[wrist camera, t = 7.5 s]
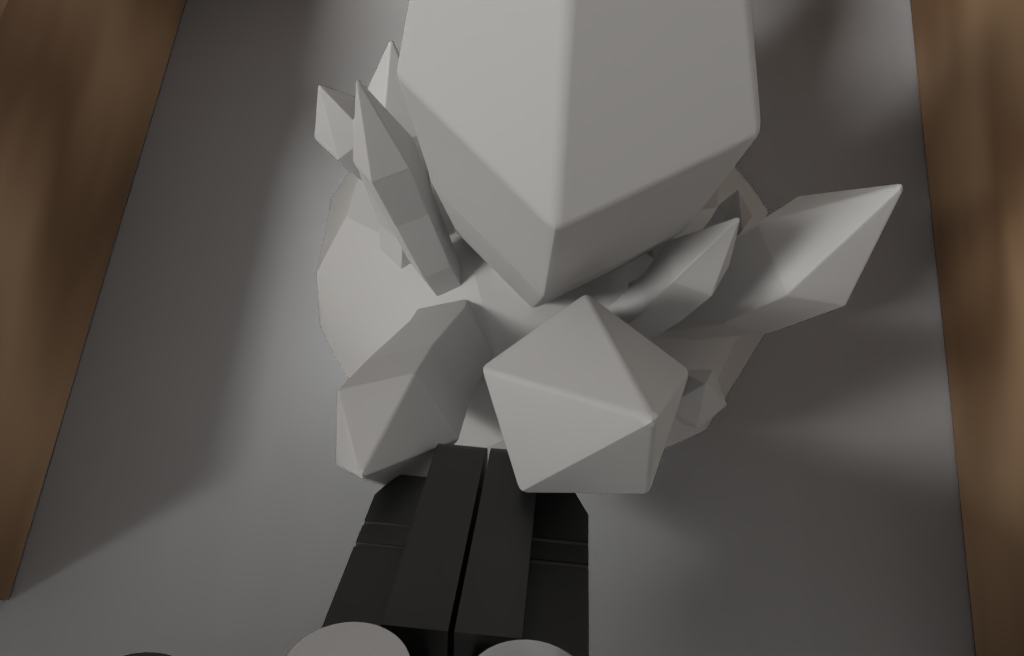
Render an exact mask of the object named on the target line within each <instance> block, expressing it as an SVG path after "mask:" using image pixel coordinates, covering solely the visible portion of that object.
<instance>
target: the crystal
mask: <svg viewBox="0 0 1024 656" xmlns="http://www.w3.org/2000/svg"><path fill="white" fill-rule="evenodd" d="M759 132H760V106H759V93H758V81H757V69H756V57H755V45H754V33H753V21H752V9H751V0H409V5H408V10H407V16H406V21H405V27H404V33H403V38H402V44H401V49H400V55H399V53H398V50H397V48H396V46H395V44H394V42H393V41H390V42H389V43H388V45H387V48H386V50H385V52H384V54H383V56H382V58H381V61H380V63H379V65H378V67H377V69H376V72H375V74H374V76H373V78H372V80H371V82H370V85H369V87H368V89H367V88H366V87H365V86H364V85H363V83H362V82H361V81H360V80H357V81H356V94H355V97H354V96H351V95H348V94H345V93H342V92H339V91H336V90H333V89H330V88H327V87H324V86H321V85H319V86H318V94H317V108H316V122H315V135H314V138H315V140H316V141H318V142H319V143H320V144H321V145H322V146H323V147H324V148H325V149H326V150H327V151H328V152H329V153H330V154H331V155H332V156H334V157H335V158H336V159H337V160H338V161H339V162H340V163H341V164H342V165H343V166H345V167H346V168H347V169H348V170H349V171H350V172H349V173H348V175H347V176H346V178H345V179H344V180H343V182H342V183H341V185H340V186H339V187H338V189H337V190H336V192H335V193H334V194H333V197H332V200H331V205H330V210H329V215H328V219H327V224H326V229H325V234H324V238H323V243H322V248H321V253H320V257H319V262H318V267H317V272H316V275H317V288H318V301H319V314H320V327H321V329H322V331H323V333H324V335H325V336H326V338H327V340H328V342H329V344H330V346H331V348H332V350H333V352H334V354H335V356H336V358H337V360H338V362H339V364H340V366H341V368H342V370H343V372H344V374H345V376H346V378H347V381H346V383H345V384H344V385H343V386H342V387H341V388H340V389H339V390H338V392H337V438H336V463H337V465H338V466H339V467H341V468H343V469H345V470H346V471H348V472H350V473H352V474H353V475H355V476H357V477H359V478H361V479H364V480H367V481H370V482H373V483H377V484H380V485H383V486H385V485H386V484H388V483H389V482H390V481H391V480H393V479H394V478H396V477H398V476H399V475H411V476H421V477H426V476H427V474H428V471H429V468H430V465H431V461H432V458H433V455H434V452H435V449H436V446H437V444H438V443H440V444H451V445H462V446H473V447H484V448H487V450H488V459H489V454H490V450H491V448H497V449H507V451H508V454H509V457H510V461H511V464H512V467H513V470H514V474H515V477H516V480H517V483H518V486H519V488H520V489H521V490H522V491H524V492H539V493H647V492H649V491H650V489H651V487H652V484H653V481H654V478H655V475H656V472H657V469H658V466H659V463H660V460H661V457H662V454H663V451H664V449H665V448H667V447H670V446H672V445H674V444H676V443H678V442H681V441H683V440H685V439H687V438H689V437H692V436H694V435H696V434H698V433H700V432H703V431H705V430H706V429H707V427H708V426H709V424H710V422H711V421H712V419H713V417H714V416H715V414H717V413H718V412H719V411H721V410H722V409H723V408H724V407H726V405H727V403H726V401H725V398H726V396H727V395H728V393H729V391H730V390H731V388H732V386H733V385H734V383H735V382H736V380H737V378H738V377H739V375H740V373H741V372H742V370H743V369H744V367H745V365H746V364H747V362H748V360H749V359H750V357H751V356H752V354H753V352H754V351H755V349H756V347H757V346H758V344H759V342H760V341H761V339H762V338H763V336H764V334H765V333H768V332H775V331H777V330H780V329H783V328H786V327H788V326H791V325H794V324H797V323H799V322H802V321H805V320H807V319H810V318H813V317H816V316H818V315H821V314H824V313H826V312H829V311H832V310H835V309H837V308H840V307H843V306H845V305H846V304H847V302H848V300H849V298H850V296H851V294H852V292H853V290H854V288H855V286H856V284H857V282H858V280H859V278H860V276H861V274H862V272H863V270H864V268H865V266H866V264H867V262H868V260H869V258H870V256H871V254H872V252H873V250H874V248H875V246H876V244H877V242H878V240H879V238H880V236H881V234H882V232H883V230H884V228H885V226H886V224H887V222H888V220H889V218H890V215H891V213H892V211H893V209H894V207H895V205H896V203H897V201H898V199H899V197H900V195H901V193H902V191H903V186H902V185H901V184H893V185H885V186H876V187H868V188H860V189H852V190H844V191H836V192H827V193H819V194H811V195H803V196H798V197H796V198H795V199H793V200H792V201H790V202H789V203H787V204H786V205H784V206H783V207H781V208H780V209H778V210H776V211H775V212H773V213H772V214H770V215H769V216H768V211H767V209H766V208H765V206H764V205H763V203H762V202H761V200H760V199H759V197H758V196H757V194H756V193H755V191H754V190H753V189H752V187H751V186H750V185H749V183H748V182H747V181H746V179H745V178H744V177H743V176H742V174H741V173H740V172H739V170H738V169H737V168H736V166H735V165H736V164H737V162H738V161H739V160H740V158H741V157H742V156H743V154H744V153H745V152H746V151H747V149H748V148H749V147H750V145H751V144H752V143H753V142H754V140H755V139H756V138H757V136H758V134H759ZM487 464H488V463H487Z"/></svg>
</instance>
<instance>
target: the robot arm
mask: <svg viewBox="0 0 1024 656" xmlns="http://www.w3.org/2000/svg"><path fill="white" fill-rule="evenodd" d="M487 463H488V464H487ZM125 656H170V655H167V654H162V653H150V652H144V653H135V654H129V655H125ZM287 656H589V598H588V514H587V512H586V510H585V509H584V507H583V505H582V504H581V502H580V500H579V499H578V497H577V495H576V494H575V493H539V492H524V491H522V490H521V489H520V488H519V486H518V483H517V480H516V477H515V474H514V470H513V467H512V464H511V461H510V457H509V454H508V451H507V449H497V448H491V450H490V454H489V459H488V450H487V448H484V447H473V446H462V445H451V444H440V443H438V444H437V446H436V449H435V452H434V455H433V458H432V461H431V465H430V468H429V471H428V474H427V477H421V476H411V475H399V476H398V477H396V478H394V479H393V480H391V481H390V482H389V483H388V484H386V485H385V486H384V487H383V488H382V489H381V490H380V491H378V492H377V493H376V494H375V496H374V498H373V501H372V503H371V506H370V508H369V511H368V513H367V516H366V518H365V523H364V525H363V526H362V528H361V531H360V533H359V536H358V538H357V541H356V547H354V548H353V551H352V553H351V556H350V558H349V561H348V563H347V566H346V568H345V571H344V573H343V576H342V578H341V581H340V583H339V586H338V588H337V591H336V593H335V596H334V598H333V601H332V603H331V606H330V608H329V611H328V613H327V616H326V618H325V621H324V623H323V626H322V628H321V629H319V630H316V631H314V632H312V633H311V634H309V635H307V636H306V637H304V638H303V639H302V640H301V641H299V642H298V643H297V644H296V645H295V646H294V647H293V648H292V649H291V650H290V651H289V653H288V654H287Z"/></svg>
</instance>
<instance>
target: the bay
mask: <svg viewBox="0 0 1024 656" xmlns="http://www.w3.org/2000/svg"><path fill="white" fill-rule="evenodd" d="M185 2H186V0H0V600H9V597H10V594H11V591H12V587H13V584H14V580H15V577H16V574H17V570H18V567H19V563H20V560H21V557H22V553H23V550H24V547H25V543H26V540H27V536H28V533H29V530H30V526H31V523H32V520H33V516H34V513H35V509H36V506H37V503H38V499H39V496H40V492H41V489H42V486H43V482H44V479H45V476H46V472H47V469H48V465H49V462H50V459H51V455H52V452H53V449H54V445H55V442H56V438H57V435H58V432H59V428H60V425H61V421H62V418H63V415H64V411H65V408H66V405H67V401H68V398H69V394H70V391H71V388H72V384H73V381H74V378H75V374H76V371H77V367H78V364H79V361H80V357H81V354H82V350H83V347H84V344H85V340H86V337H87V334H88V330H89V327H90V323H91V320H92V317H93V313H94V310H95V307H96V303H97V300H98V296H99V293H100V290H101V286H102V283H103V279H104V276H105V273H106V269H107V266H108V263H109V259H110V256H111V252H112V249H113V246H114V242H115V239H116V235H117V232H118V229H119V225H120V222H121V219H122V215H123V212H124V208H125V205H126V202H127V198H128V195H129V192H130V188H131V185H132V181H133V178H134V175H135V171H136V168H137V164H138V161H139V158H140V154H141V151H142V148H143V144H144V141H145V137H146V134H147V131H148V127H149V124H150V121H151V117H152V114H153V110H154V107H155V104H156V100H157V97H158V93H159V90H160V87H161V83H162V80H163V77H164V73H165V70H166V66H167V63H168V60H169V56H170V53H171V50H172V46H173V43H174V39H175V36H176V33H177V29H178V26H179V22H180V19H181V16H182V12H183V9H184V6H185ZM910 3H911V13H912V23H913V33H914V42H915V52H916V62H917V72H918V82H919V92H920V102H921V112H922V122H923V132H924V142H925V152H926V162H927V172H928V182H929V192H930V202H931V212H932V222H933V232H934V242H935V252H936V262H937V272H938V282H939V292H940V302H941V312H942V321H943V331H944V341H945V351H946V361H947V371H948V381H949V391H950V401H951V411H952V421H953V431H954V441H955V451H956V461H957V471H958V481H959V491H960V501H961V511H962V521H963V531H964V541H965V551H966V561H967V571H968V581H969V591H970V601H971V610H972V620H973V630H974V640H975V650H976V656H1024V0H910Z"/></svg>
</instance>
